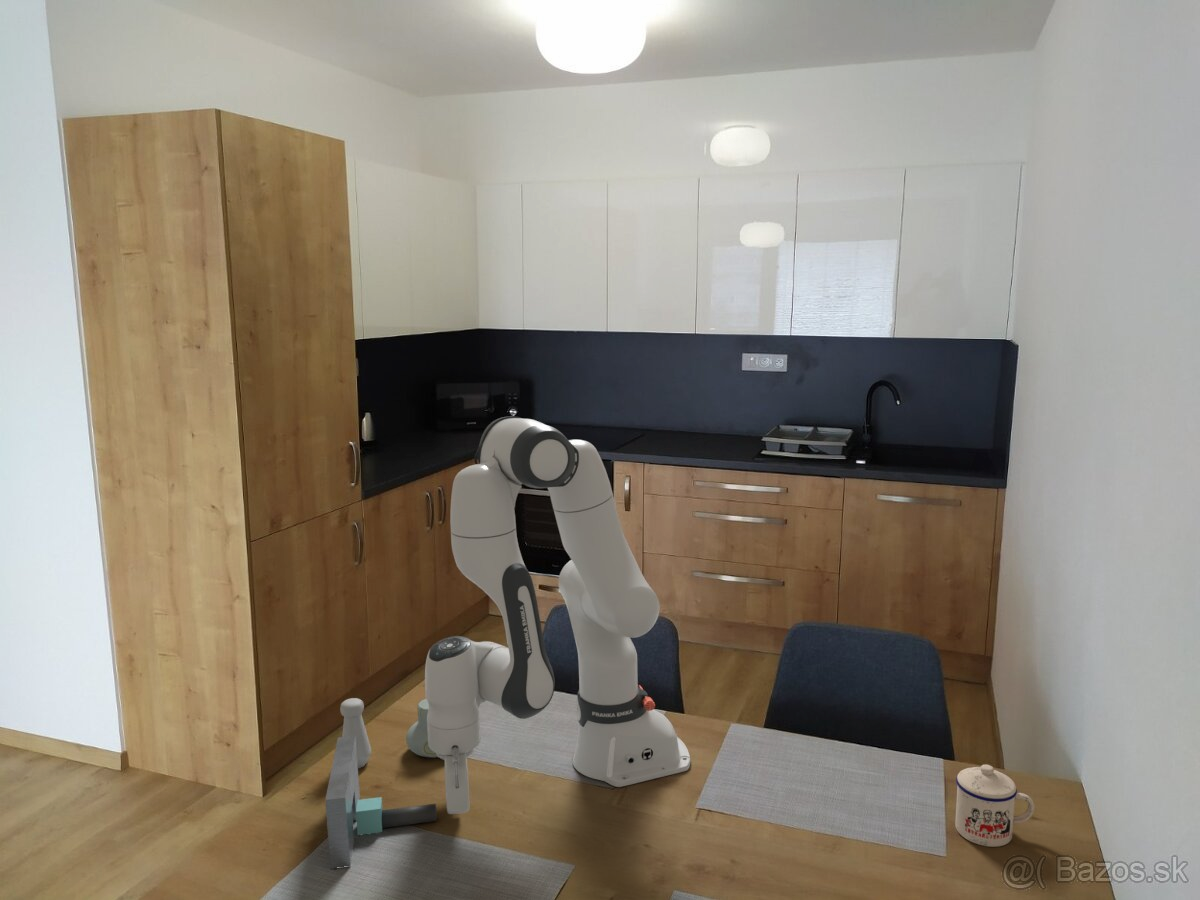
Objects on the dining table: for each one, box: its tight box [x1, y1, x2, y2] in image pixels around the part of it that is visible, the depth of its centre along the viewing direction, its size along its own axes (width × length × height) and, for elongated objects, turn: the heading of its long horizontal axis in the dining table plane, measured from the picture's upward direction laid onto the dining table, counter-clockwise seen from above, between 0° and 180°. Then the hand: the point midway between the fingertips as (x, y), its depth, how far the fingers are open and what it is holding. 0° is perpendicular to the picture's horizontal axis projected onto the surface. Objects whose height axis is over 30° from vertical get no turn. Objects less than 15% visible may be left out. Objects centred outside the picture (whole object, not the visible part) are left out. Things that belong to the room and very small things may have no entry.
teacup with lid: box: [954, 764, 1035, 848], centre depth 143 cm, size 12×9×12 cm
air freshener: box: [405, 698, 439, 759], centre depth 173 cm, size 11×8×10 cm
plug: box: [356, 796, 437, 836], centre depth 149 cm, size 13×4×4 cm, turn 101°
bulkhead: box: [324, 736, 361, 869], centre depth 147 cm, size 3×20×12 cm, turn 11°
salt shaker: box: [339, 697, 372, 769], centre depth 168 cm, size 6×6×13 cm
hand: (457, 807), depth 151 cm, fingers closed
